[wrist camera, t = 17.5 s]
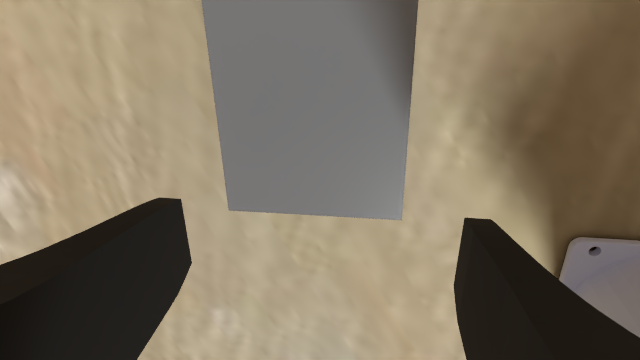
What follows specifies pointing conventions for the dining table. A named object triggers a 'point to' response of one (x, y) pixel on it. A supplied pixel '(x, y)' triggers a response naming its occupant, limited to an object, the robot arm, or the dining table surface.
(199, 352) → the dining table surface
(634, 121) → the dining table surface
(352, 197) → the grey rectangular block
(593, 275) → the robot arm
